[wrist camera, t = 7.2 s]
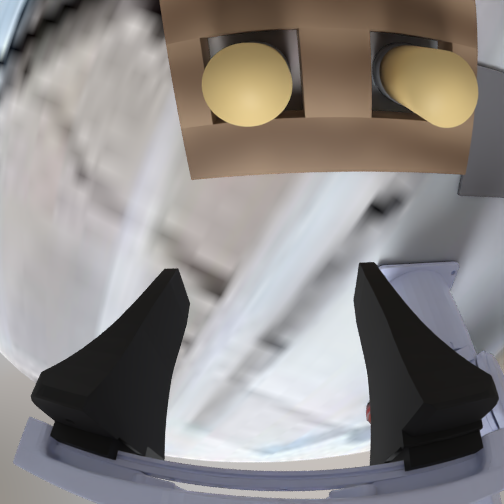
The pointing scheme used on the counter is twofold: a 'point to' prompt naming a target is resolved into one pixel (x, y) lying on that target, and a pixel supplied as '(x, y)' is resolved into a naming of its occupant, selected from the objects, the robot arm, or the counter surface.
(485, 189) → the mat
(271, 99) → the tan domed cylinder
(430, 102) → the yellow peg
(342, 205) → the counter surface
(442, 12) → the socket board
